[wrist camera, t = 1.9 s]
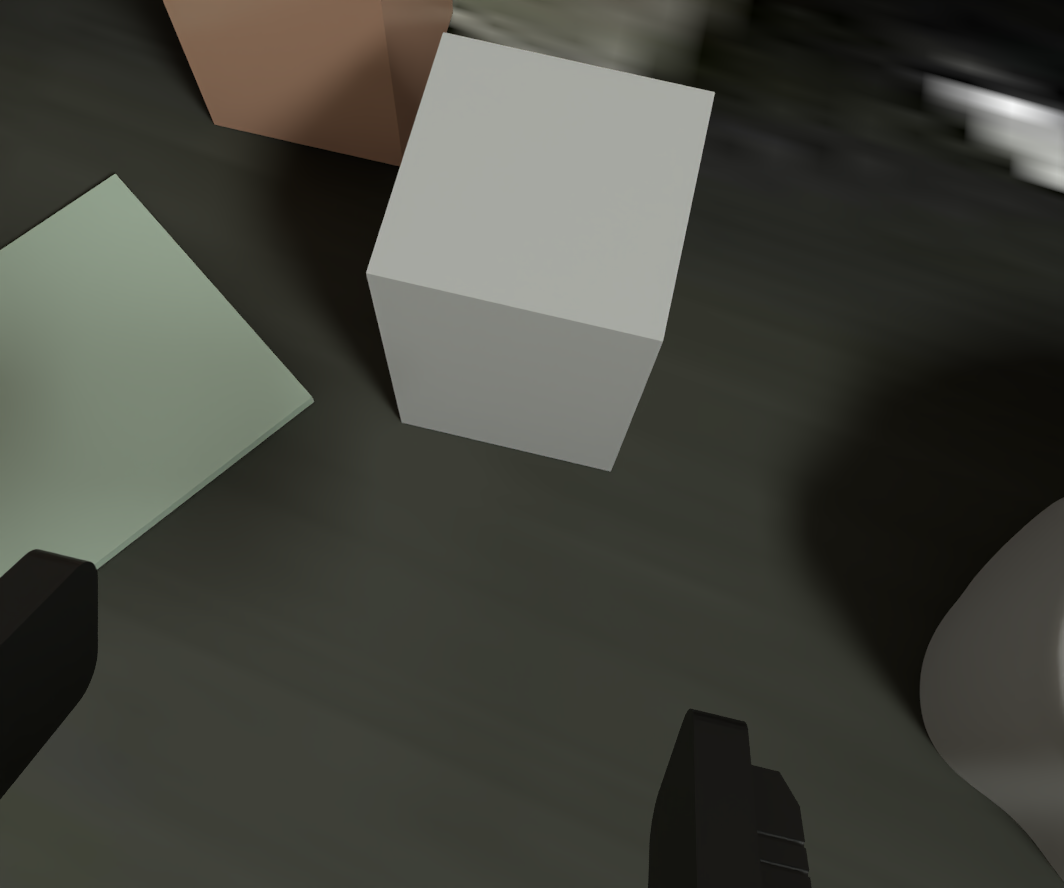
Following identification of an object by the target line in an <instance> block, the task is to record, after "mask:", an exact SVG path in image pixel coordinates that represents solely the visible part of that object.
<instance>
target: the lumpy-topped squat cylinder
mask: <svg viewBox="0 0 1064 888" xmlns="http://www.w3.org/2000/svg"><path fill="white" fill-rule="evenodd" d="M920 705H921V712H922V717H923V721H924V725H925V728H926V730H927V733H928V735H929V738H930V740H931V741H932V743H933V745H934V747H935V748H936V750H937V751H938V753H939V754H940V755H941V757H942V758H943V759H944V760H945V761H946V763H947V764H948V765H949V766H950V767H951V768H952V769H953V770H954V771H955V772H956V773H957V774H959V775H960V776H961V777H962V778H963V779H964V780H966V781H967V782H968V783H969V784H970V785H972V786H973V787H974V788H976V789H977V790H978V791H980V792H981V793H982V794H984V795H985V796H986V797H988V798H989V799H990V800H991V801H993V802H994V803H995V804H997V805H998V806H999V807H1000V808H1002V809H1003V810H1004V811H1005V812H1006V813H1007V814H1008V815H1010V816H1011V817H1012V818H1013V819H1014V820H1015V821H1016V822H1017V823H1018V824H1019V825H1020V826H1021V827H1022V828H1023V830H1024V831H1025V832H1026V833H1027V834H1028V835H1029V836H1030V838H1031V839H1032V840H1033V841H1034V843H1035V844H1036V845H1037V847H1038V848H1039V849H1040V851H1041V852H1042V853H1043V855H1044V856H1045V857H1046V859H1047V860H1048V861H1049V863H1050V864H1051V866H1052V867H1053V868H1054V870H1055V871H1056V872H1057V874H1058V875H1059V876H1060V877H1061V879H1062V880H1063V881H1064V497H1063V498H1061V499H1059V500H1058V501H1056V502H1054V503H1053V504H1051V505H1050V506H1049V507H1047V508H1046V509H1045V510H1043V511H1042V512H1041V513H1039V514H1038V515H1037V516H1036V517H1035V518H1033V519H1032V520H1031V521H1030V522H1029V523H1028V524H1026V525H1025V526H1024V527H1023V528H1022V529H1021V530H1020V531H1019V532H1018V533H1017V534H1015V535H1014V536H1013V537H1012V538H1011V539H1010V540H1009V541H1008V542H1007V543H1006V544H1005V545H1004V546H1003V547H1002V548H1001V549H1000V550H999V551H998V552H997V553H996V554H995V555H994V556H993V557H992V558H991V559H990V560H989V562H988V563H987V564H986V565H985V566H984V567H983V568H982V569H981V570H980V572H979V573H978V574H977V575H976V576H975V578H974V579H973V580H972V581H971V583H970V584H969V585H968V587H967V588H966V590H965V591H964V593H963V594H962V595H961V596H960V598H959V599H958V600H957V601H956V603H955V604H954V605H953V606H952V608H951V609H950V610H949V611H948V613H947V614H946V615H945V617H944V618H943V620H942V621H941V623H940V624H939V626H938V627H937V629H936V631H935V633H934V635H933V636H932V638H931V641H930V643H929V645H928V648H927V650H926V653H925V657H924V660H923V664H922V669H921V676H920Z"/></svg>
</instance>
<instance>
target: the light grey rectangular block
mask: <svg viewBox="0 0 1064 888" xmlns="http://www.w3.org/2000/svg"><path fill="white" fill-rule="evenodd" d="M714 94H715V92H711V91H707V90H702V89H698V88H693V87H689V86H684V85H680V84H675V83H671V82H666V81H662V80H657V79H653V78H648V77H643V76H639V75H634V74H630V73H625V72H621V71H616V70H612V69H607V68H603V67H598V66H594V65H589V64H585V63H580V62H576V61H571V60H567V59H562V58H558V57H553V56H549V55H544V54H540V53H535V52H531V51H526V50H522V49H517V48H513V47H508V46H504V45H499V44H494V43H490V42H485V41H481V40H476V39H472V38H467V37H463V36H458V35H454V34H449V33H445V32H443V34H442V37H441V40H440V44H439V47H438V50H437V53H436V56H435V59H434V62H433V65H432V69H431V72H430V75H429V78H428V81H427V84H426V87H425V90H424V93H423V97H422V100H421V103H420V106H419V109H418V112H417V115H416V118H415V122H414V125H413V128H412V131H411V134H410V137H409V140H408V143H407V147H406V150H405V153H404V156H403V159H402V162H401V165H400V168H399V172H398V175H397V178H396V181H395V184H394V187H393V190H392V193H391V197H390V200H389V203H388V206H387V209H386V212H385V215H384V218H383V222H382V225H381V228H380V231H379V234H378V237H377V240H376V243H375V246H374V250H373V253H372V256H371V259H370V262H369V265H368V268H367V271H366V275H367V279H368V284H369V288H370V292H371V296H372V300H373V305H374V309H375V313H376V317H377V321H378V326H379V330H380V334H381V338H382V342H383V347H384V351H385V355H386V359H387V363H388V368H389V372H390V376H391V380H392V384H393V389H394V393H395V397H396V401H397V405H398V410H399V414H400V418H401V422H402V423H406V424H410V425H415V426H419V427H423V428H427V429H432V430H436V431H440V432H445V433H449V434H453V435H457V436H462V437H466V438H470V439H474V440H479V441H483V442H487V443H491V444H496V445H500V446H504V447H508V448H513V449H517V450H521V451H526V452H530V453H534V454H538V455H543V456H547V457H551V458H555V459H560V460H564V461H568V462H572V463H577V464H581V465H585V466H589V467H594V468H598V469H602V470H607V471H611V469H612V467H613V464H614V462H615V459H616V457H617V454H618V452H619V449H620V447H621V444H622V442H623V440H624V437H625V435H626V432H627V430H628V427H629V425H630V422H631V420H632V417H633V415H634V412H635V410H636V407H637V405H638V402H639V400H640V397H641V395H642V392H643V390H644V387H645V385H646V382H647V380H648V377H649V375H650V372H651V370H652V367H653V365H654V362H655V360H656V357H657V355H658V352H659V350H660V347H661V345H662V342H663V338H664V334H665V329H666V324H667V319H668V314H669V310H670V305H671V300H672V295H673V290H674V286H675V281H676V276H677V271H678V266H679V262H680V257H681V252H682V247H683V243H684V238H685V233H686V228H687V223H688V219H689V214H690V209H691V204H692V199H693V195H694V190H695V185H696V180H697V175H698V171H699V166H700V161H701V156H702V151H703V147H704V142H705V137H706V132H707V128H708V123H709V118H710V113H711V108H712V104H713V99H714Z"/></svg>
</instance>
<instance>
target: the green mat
mask: <svg viewBox="0 0 1064 888" xmlns="http://www.w3.org/2000/svg"><path fill="white" fill-rule="evenodd" d="M313 402H314V400H313V398H312V396H311V395H310V394H309V393H308V392H307V391H306V389H305V388H304V387H303V386H302V385H301V384H300V383H299V381H298V380H297V379H296V378H295V377H294V376H293V375H292V374H291V372H290V371H289V370H288V369H287V368H286V367H285V366H284V364H283V363H282V362H281V361H280V360H279V359H278V358H277V357H276V355H275V354H274V353H273V352H272V351H271V350H270V349H269V347H268V346H267V345H266V344H265V343H264V342H263V341H262V340H261V338H260V337H259V336H258V335H257V334H256V333H255V332H254V330H253V329H252V328H251V327H250V326H249V325H248V324H247V323H246V321H245V320H244V319H243V318H242V317H241V316H240V315H239V313H238V312H237V311H236V310H235V309H234V308H233V307H232V306H231V304H230V303H229V302H228V301H227V300H226V299H225V298H224V296H223V295H222V294H221V293H220V292H219V291H218V290H217V288H216V287H215V286H214V285H213V284H212V283H211V282H210V281H209V279H208V278H207V277H206V276H205V275H204V274H203V273H202V271H201V270H200V269H199V268H198V267H197V266H196V265H195V264H194V262H193V261H192V260H191V259H190V258H189V257H188V256H187V254H186V253H185V252H184V251H183V250H182V249H181V248H180V247H179V245H178V244H177V243H176V242H175V241H174V240H173V239H172V237H171V236H170V235H169V234H168V233H167V232H166V231H165V230H164V228H163V227H162V226H161V225H160V224H159V223H158V222H157V220H156V219H155V218H154V217H153V216H152V215H151V214H150V213H149V211H148V210H147V209H146V208H145V207H144V206H143V205H142V203H141V202H140V201H139V200H138V199H137V198H136V197H135V196H134V194H133V193H132V192H131V191H130V190H129V189H128V188H127V186H126V185H125V184H124V183H123V182H122V181H121V180H120V178H119V177H118V176H117V175H116V174H114V175H113V176H111V177H110V178H108V179H107V180H105V181H104V182H102V183H101V184H99V185H98V186H96V187H95V188H93V189H92V190H90V191H89V192H87V193H86V194H84V195H83V196H81V197H80V198H78V199H77V200H75V201H73V202H72V203H70V204H69V205H67V206H66V207H64V208H63V209H61V210H60V211H58V212H57V213H55V214H54V215H52V216H51V217H49V218H48V219H46V220H45V221H43V222H42V223H40V224H39V225H37V226H36V227H34V228H33V229H31V230H30V231H28V232H27V233H25V234H24V235H22V236H21V237H19V238H18V239H16V240H15V241H13V242H12V243H10V244H9V245H7V246H6V247H4V248H3V249H1V250H0V577H1V576H2V575H4V574H5V573H6V572H7V571H8V570H9V569H10V568H11V567H12V566H13V565H15V564H16V563H17V562H18V561H19V560H20V559H21V558H22V557H23V556H24V555H26V554H27V553H28V552H30V551H32V550H34V549H40V550H44V551H49V552H53V553H57V554H61V555H65V556H69V557H73V558H77V559H82V560H86V561H90V562H92V563H93V564H94V565H95V567H96V569H98V568H100V567H101V566H102V565H103V564H105V563H106V562H107V561H109V560H110V559H111V558H113V557H114V556H115V555H116V554H118V553H119V552H120V551H122V550H123V549H124V548H125V547H127V546H128V545H129V544H131V543H132V542H133V541H135V540H136V539H137V538H138V537H140V536H141V535H142V534H144V533H145V532H146V531H147V530H149V529H150V528H151V527H153V526H154V525H155V524H157V523H158V522H159V521H160V520H162V519H163V518H164V517H166V516H167V515H168V514H170V513H171V512H172V511H173V510H175V509H176V508H177V507H179V506H180V505H181V504H182V503H184V502H185V501H186V500H188V499H189V498H190V497H192V496H193V495H194V494H195V493H197V492H198V491H199V490H201V489H202V488H203V487H204V486H206V485H207V484H208V483H210V482H211V481H212V480H214V479H215V478H216V477H217V476H219V475H220V474H221V473H223V472H224V471H225V470H226V469H228V468H229V467H230V466H232V465H233V464H234V463H236V462H237V461H238V460H239V459H241V458H242V457H243V456H245V455H246V454H247V453H248V452H250V451H251V450H252V449H254V448H255V447H256V446H258V445H259V444H260V443H261V442H263V441H264V440H265V439H267V438H268V437H269V436H271V435H272V434H273V433H274V432H276V431H277V430H278V429H280V428H281V427H282V426H283V425H285V424H286V423H287V422H289V421H290V420H291V419H293V418H294V417H295V416H296V415H298V414H299V413H300V412H302V411H303V410H304V409H305V408H307V407H308V406H309V405H311V404H312V403H313Z"/></svg>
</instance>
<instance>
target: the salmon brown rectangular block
mask: <svg viewBox="0 0 1064 888" xmlns="http://www.w3.org/2000/svg"><path fill="white" fill-rule="evenodd" d="M163 2H164V4H165V7H166V9H167V12H168V14H169V17H170V19H171V21H172V24H173V26H174V29H175V31H176V33H177V36H178V38H179V41H180V43H181V45H182V48H183V50H184V53H185V55H186V57H187V60H188V62H189V65H190V67H191V69H192V72H193V74H194V77H195V79H196V81H197V84H198V86H199V89H200V91H201V94H202V96H203V98H204V101H205V103H206V106H207V108H208V110H209V113H210V115H211V118H212V120H213V122H214V125H219V126H223V127H228V128H232V129H236V130H241V131H245V132H250V133H254V134H258V135H263V136H267V137H272V138H276V139H281V140H285V141H289V142H294V143H298V144H303V145H307V146H312V147H316V148H320V149H325V150H329V151H334V152H338V153H342V154H347V155H351V156H356V157H360V158H365V159H369V160H373V161H378V162H382V163H387V164H391V165H396V166H400V165H401V162H402V159H403V156H404V153H405V150H406V147H407V143H408V140H409V137H410V134H411V131H412V128H413V125H414V122H415V118H416V115H417V112H418V109H419V106H420V103H421V100H422V97H423V93H424V90H425V87H426V84H427V81H428V78H429V75H430V72H431V69H432V65H433V62H434V59H435V56H436V53H437V50H438V47H439V44H440V40H441V37H442V34H443V32H445V33H447V29H448V26H449V23H450V20H451V17H452V14H453V6H452V0H163Z"/></svg>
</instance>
